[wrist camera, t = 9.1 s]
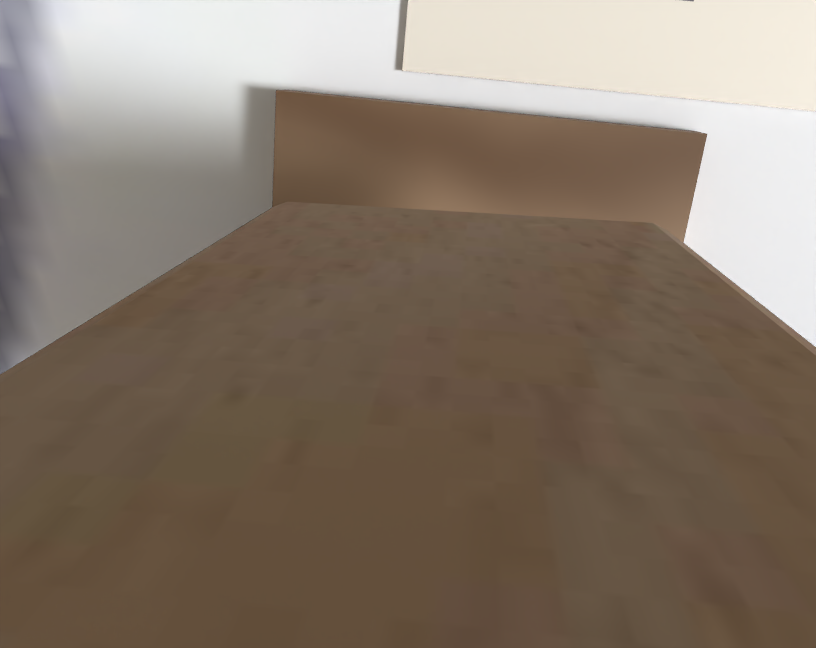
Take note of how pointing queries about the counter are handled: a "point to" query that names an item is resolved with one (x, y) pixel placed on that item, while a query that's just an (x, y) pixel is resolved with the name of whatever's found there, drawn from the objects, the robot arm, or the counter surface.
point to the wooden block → (415, 447)
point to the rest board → (480, 161)
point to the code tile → (625, 46)
